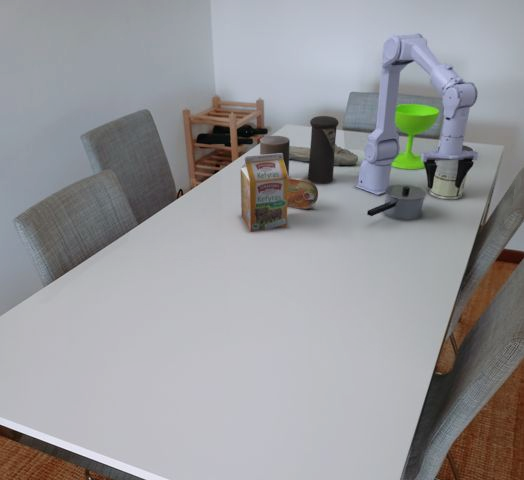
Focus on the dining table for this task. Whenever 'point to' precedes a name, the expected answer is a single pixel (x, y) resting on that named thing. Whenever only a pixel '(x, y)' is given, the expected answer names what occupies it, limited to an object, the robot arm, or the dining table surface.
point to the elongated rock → (339, 157)
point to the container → (322, 149)
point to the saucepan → (401, 202)
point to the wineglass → (413, 131)
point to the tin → (301, 193)
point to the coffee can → (447, 179)
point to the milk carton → (264, 192)
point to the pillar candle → (276, 147)
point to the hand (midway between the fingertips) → (443, 187)
